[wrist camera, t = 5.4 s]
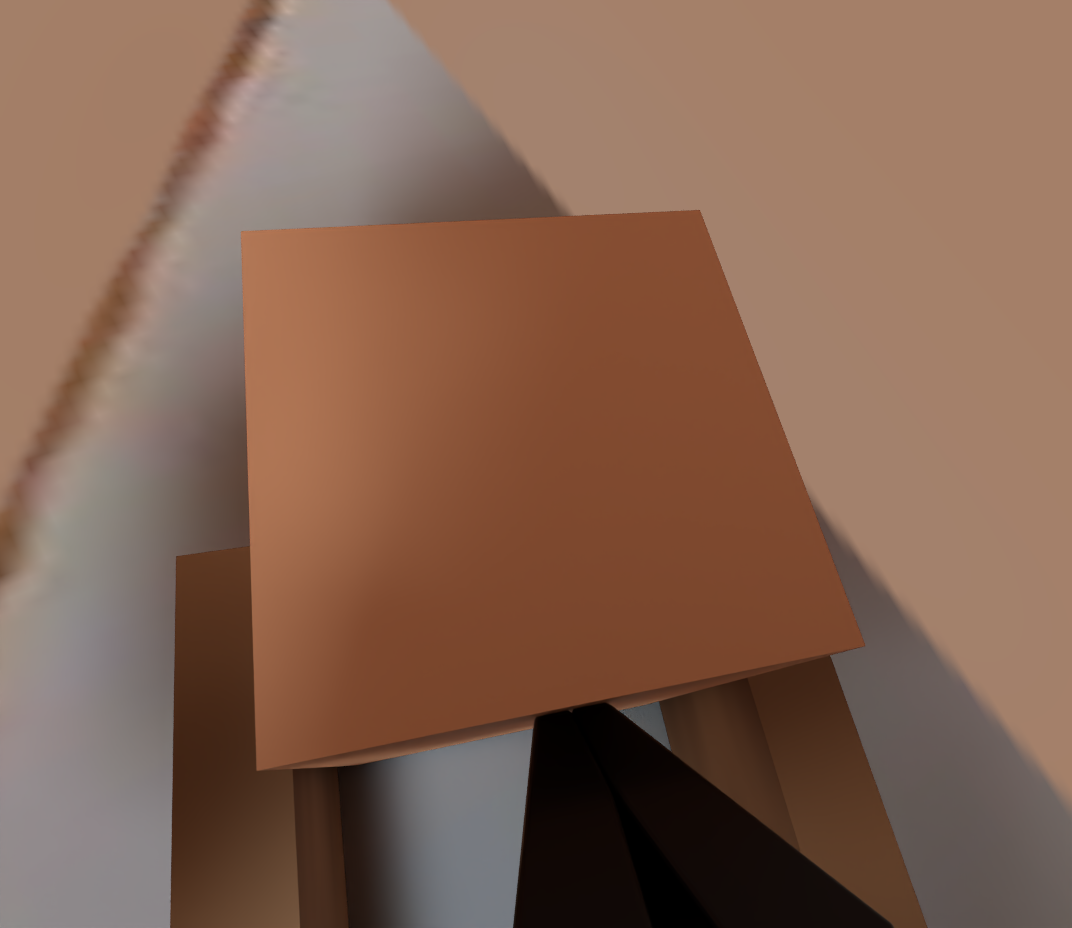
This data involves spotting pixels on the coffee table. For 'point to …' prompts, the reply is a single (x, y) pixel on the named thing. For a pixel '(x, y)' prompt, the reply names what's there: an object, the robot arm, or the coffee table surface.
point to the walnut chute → (313, 793)
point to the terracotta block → (510, 483)
